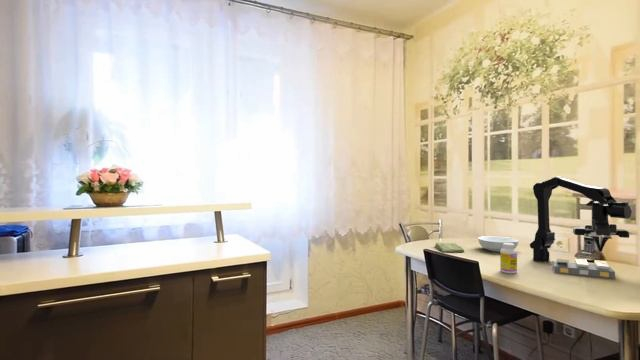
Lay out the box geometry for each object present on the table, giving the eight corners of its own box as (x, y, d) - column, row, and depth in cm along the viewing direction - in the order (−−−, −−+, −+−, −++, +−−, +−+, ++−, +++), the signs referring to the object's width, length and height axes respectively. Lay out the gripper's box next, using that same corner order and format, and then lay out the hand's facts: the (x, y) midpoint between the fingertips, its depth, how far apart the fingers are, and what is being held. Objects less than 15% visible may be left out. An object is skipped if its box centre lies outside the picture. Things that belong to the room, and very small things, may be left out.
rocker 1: (558, 261, 157) (557, 258, 157) (556, 262, 162) (556, 259, 162) (568, 262, 155) (568, 259, 155) (567, 263, 160) (567, 260, 160)
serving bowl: (526, 254, 192) (526, 241, 192) (488, 254, 192) (488, 242, 192) (506, 246, 213) (506, 235, 212) (472, 247, 213) (472, 235, 213)
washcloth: (442, 253, 198) (442, 248, 198) (434, 247, 216) (434, 242, 216) (466, 253, 198) (465, 248, 198) (455, 247, 215) (455, 242, 215)
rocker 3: (597, 268, 150) (597, 265, 150) (594, 262, 155) (594, 260, 155) (609, 269, 148) (609, 266, 148) (605, 263, 153) (605, 260, 153)
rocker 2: (577, 266, 153) (577, 263, 153) (575, 261, 159) (575, 258, 158) (588, 267, 151) (588, 264, 151) (586, 262, 157) (586, 259, 156)
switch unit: (554, 272, 155) (554, 265, 155) (552, 267, 164) (552, 260, 164) (615, 279, 145) (615, 270, 145) (609, 272, 154) (609, 265, 154)
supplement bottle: (510, 274, 154) (510, 245, 154) (497, 271, 160) (497, 243, 159) (520, 272, 157) (520, 244, 157) (506, 269, 163) (506, 241, 163)
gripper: (576, 217, 151) (576, 253, 151) (633, 219, 142) (633, 257, 142) (572, 214, 161) (573, 248, 161) (625, 216, 151) (625, 252, 152)
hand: (600, 251), depth 153 cm, fingers closed
